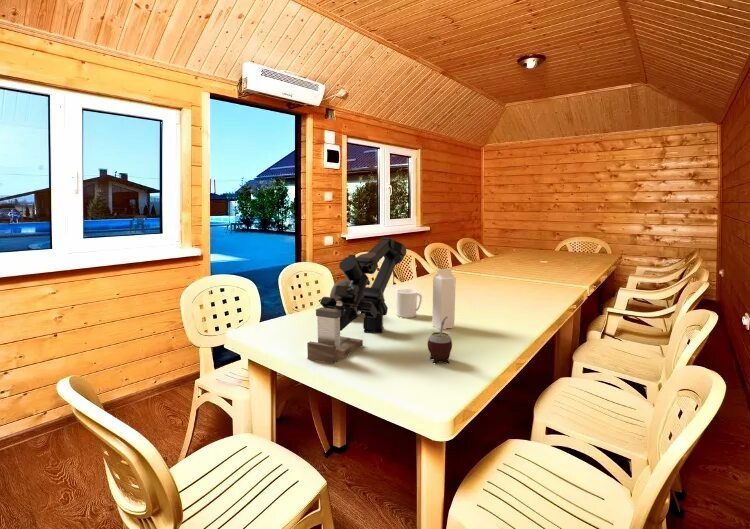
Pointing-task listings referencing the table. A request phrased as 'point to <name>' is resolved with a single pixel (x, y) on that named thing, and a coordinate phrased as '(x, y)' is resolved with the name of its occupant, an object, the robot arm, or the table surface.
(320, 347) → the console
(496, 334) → the table surface
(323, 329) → the fader tab
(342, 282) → the dark rounded lump
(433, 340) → the mate gourd
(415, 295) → the mug
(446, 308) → the milk
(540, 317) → the table surface
